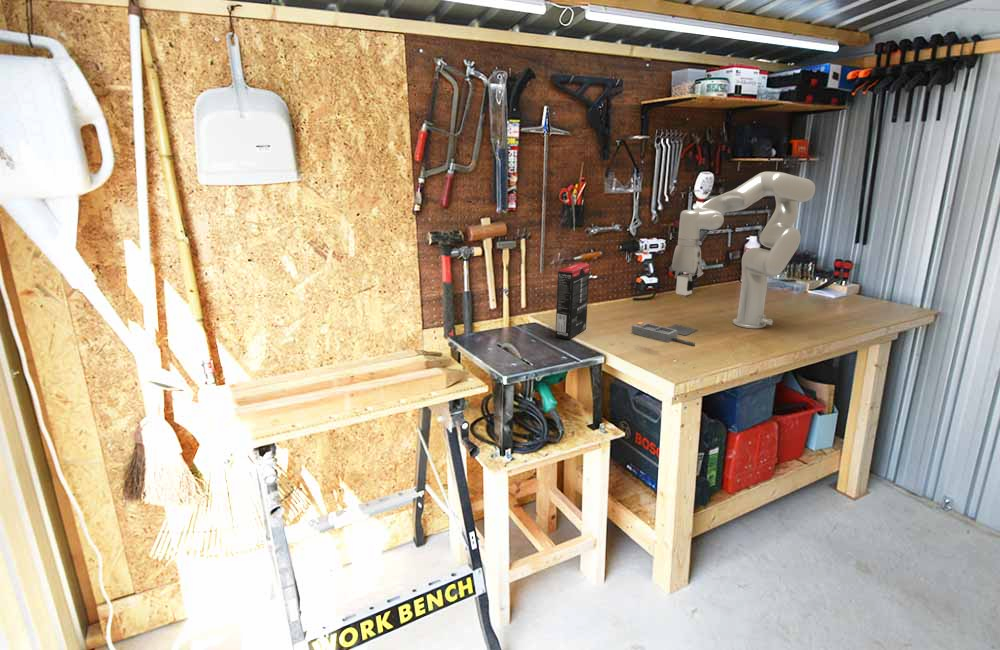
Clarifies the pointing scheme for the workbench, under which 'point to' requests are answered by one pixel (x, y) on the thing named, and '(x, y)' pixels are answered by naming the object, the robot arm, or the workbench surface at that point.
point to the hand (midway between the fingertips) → (683, 288)
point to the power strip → (658, 333)
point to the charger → (682, 285)
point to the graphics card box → (572, 300)
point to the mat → (683, 329)
